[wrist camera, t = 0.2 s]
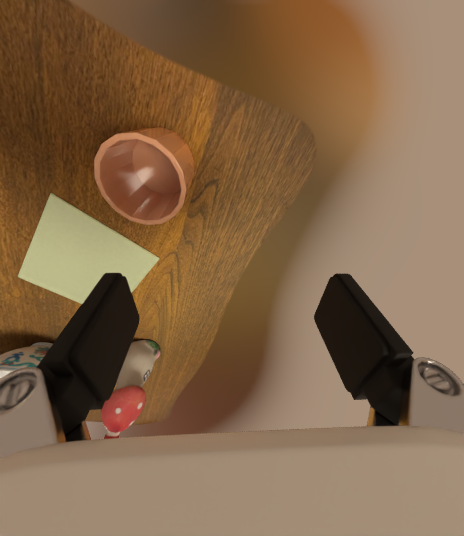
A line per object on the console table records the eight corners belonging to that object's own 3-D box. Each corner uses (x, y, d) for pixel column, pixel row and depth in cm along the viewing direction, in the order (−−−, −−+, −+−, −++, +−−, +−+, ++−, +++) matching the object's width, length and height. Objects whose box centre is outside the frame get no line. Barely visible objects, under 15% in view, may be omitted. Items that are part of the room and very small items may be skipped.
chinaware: (51, 376, 47) (26, 415, 41) (-16, 340, 39) (-61, 383, 33) (106, 361, 45) (88, 401, 39) (48, 319, 36) (13, 362, 30)
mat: (51, 192, 24) (50, 193, 24) (160, 257, 30) (159, 258, 30) (18, 276, 31) (17, 276, 30) (112, 315, 37) (112, 316, 36)
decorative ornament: (142, 363, 46) (115, 451, 34) (115, 351, 43) (75, 443, 31) (169, 345, 43) (149, 436, 31) (141, 331, 40) (107, 426, 28)
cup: (150, 109, 20) (118, 107, 13) (207, 161, 23) (202, 180, 16) (119, 167, 23) (80, 188, 16) (173, 207, 26) (157, 238, 19)
